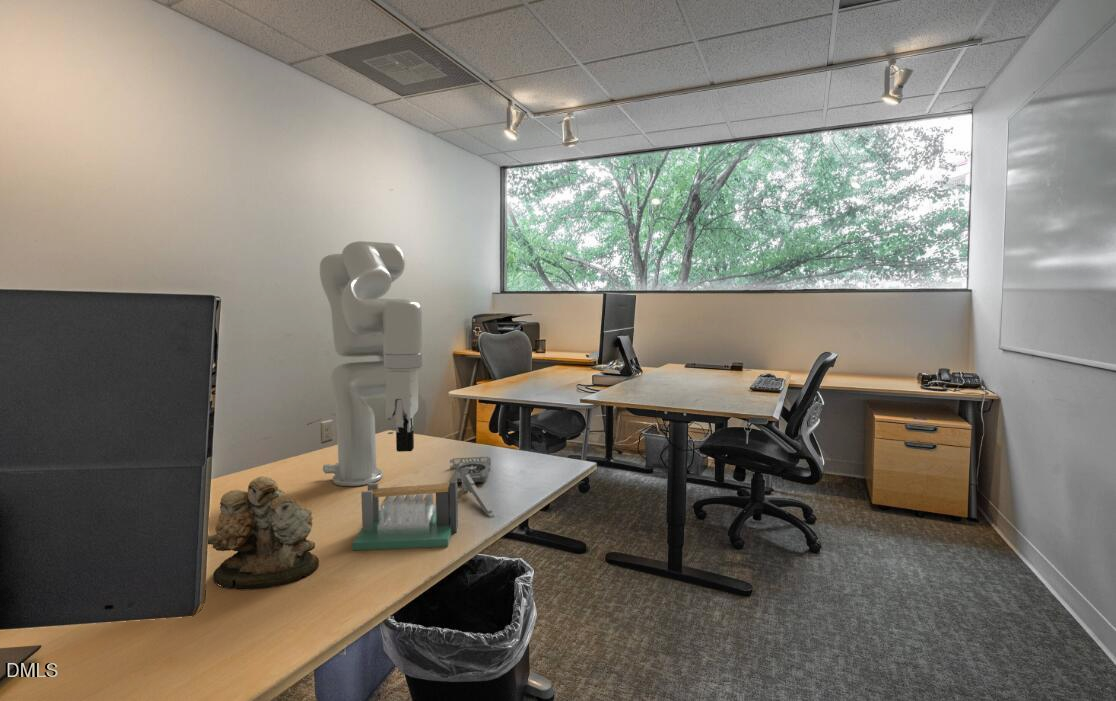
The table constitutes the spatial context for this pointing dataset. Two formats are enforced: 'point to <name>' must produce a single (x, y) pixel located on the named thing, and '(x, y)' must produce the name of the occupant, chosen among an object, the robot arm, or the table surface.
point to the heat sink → (406, 514)
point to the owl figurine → (263, 537)
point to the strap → (410, 490)
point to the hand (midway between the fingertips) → (405, 450)
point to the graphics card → (472, 468)
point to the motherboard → (372, 540)
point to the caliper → (475, 492)
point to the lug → (448, 506)
